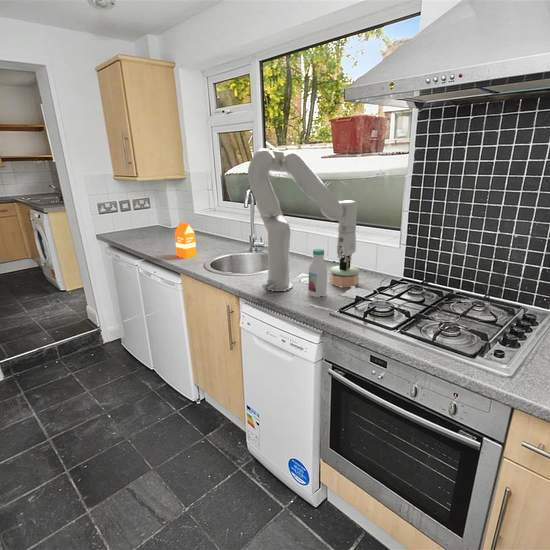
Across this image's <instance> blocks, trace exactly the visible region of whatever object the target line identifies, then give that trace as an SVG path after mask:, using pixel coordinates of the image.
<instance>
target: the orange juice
mask: <svg viewBox="0 0 550 550" xmlns="http://www.w3.org/2000/svg"><path fill="white" fill-rule="evenodd" d="M174 235H175V236H174V238H175V248H176V250H175V251H176V257H177V256H179V258H181V257H183V258H182V259H185V258H188V259H190V258H189V257H191V258H194V257H193V256H195V257H197V248H196V247H197V246H196V235H195V231H194V229H193V228H192V227H191V225H190V223H186V222H178V225H177V227H176V229H175V232H174Z"/></svg>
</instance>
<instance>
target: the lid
mask: <svg viewBox="0 0 550 550" xmlns="http://www.w3.org/2000/svg"><path fill="white" fill-rule="evenodd" d="M346 262H347V267H346V271H344V270H340V269H339V267H340V265H334V266H331V267H330V269H329V270H330V273H331V272H332V273H334V274H337V275H343V276H351V275H356V274H360V269H359V267H355V266H353V265H352V266H351V265H350V268H349V269H348V264H349V258H348V257H346Z"/></svg>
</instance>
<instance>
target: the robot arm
mask: <svg viewBox="0 0 550 550" xmlns="http://www.w3.org/2000/svg"><path fill="white" fill-rule="evenodd" d="M270 172H278V173H279V172H280V173H281V172H282V173H286V174H288V176H289V177H290V178H291V180H292V181H293V182H294V184H296V185H297V187H298V188H299V189H300V190H301V191H302V193H304V195H306V196H307V197H308V198H310V199H311V200H312V201H313V202H314V203H315V204H316V205H317V206H318V208H320V213H321V215H323V216H324V217H326V218H327V219H329V220H330V221H338V227H337V228H338V230H337V232H338V238H337V246H336V255H337V259H339V266H340V267H339V269H340V270H344V271H346V267H347V262H346V257H348V258H349V264H348V269H349V268H350V266H351V260H352V255H353V254H354V253H355V252H356V250H357V249H356V247H357V243H356V242H357V236H356V232H357V231H356V228H357V212H358V203H357V202H356V200H348V199H347V200H338V198H337V197H336V196H335V195H334V194H333V193H332V192H331V190H330V189H329V188H328V187H327V186H326V185H325V184H324V183H323V181H322V180H321V179H320V178H319V177H318V175H317V174H316V173H315V172H314V171H313V169H312V168H311V167H310V166H309V165H308V163H307V162H306V161H305V159H304V158H303V157H302V156H301V155H300V154H299V153H297V152H296V151H281V150H280V151H278V150H272V149H271V150H270V149H267V148H260V149H259V150H257V151H255V153H254V154H253V157H252V159H251V161H250V163H249V166H248V168H247V179H248V184H249V186H250V189H251V192H252V195H253V197H254V199H255V202H256V208H257V211H258V213H259V215H260V218H261V220H262V221H263V224H264V227H265V228H266V232H267V275H268V276H267V280H266V283H264V284H262V286H261V287H262V289H265V290H267V289H269V290H273V291H284V290H288V289H291V288H292V287H294V286H293V283H291V281H290V243H291V242H290V241H291V226H290V224H289V222H288V221H287V220H286V218H285V216H284V214H283V211H282V209H281V205H280V201H279V199H278V197H277V195H276V193H275V190H274V188H273V185H272V181H271V180H270ZM266 288H267V289H266ZM292 289H293V288H292ZM292 289H291V290H292ZM269 290H268V291H269ZM273 291H272V292H273Z"/></svg>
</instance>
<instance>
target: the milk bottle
mask: <svg viewBox="0 0 550 550" xmlns="http://www.w3.org/2000/svg"><path fill="white" fill-rule="evenodd" d="M312 256H313V257H312V260H311V263H310V264H309V266H308V267H309V268H308V289H307V291H308V293H307V294H308V296H309V295H311V296H310V297H312V296H314V297H313V298H321V297H320V296H324V295H326V296H327V290H328V289H327V288H328V287H327V285H328V267H327V264H326V262H325V258H324V256H325V249H322V248H315V249H314V248H313V250H312ZM324 297H325V296H324Z"/></svg>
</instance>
